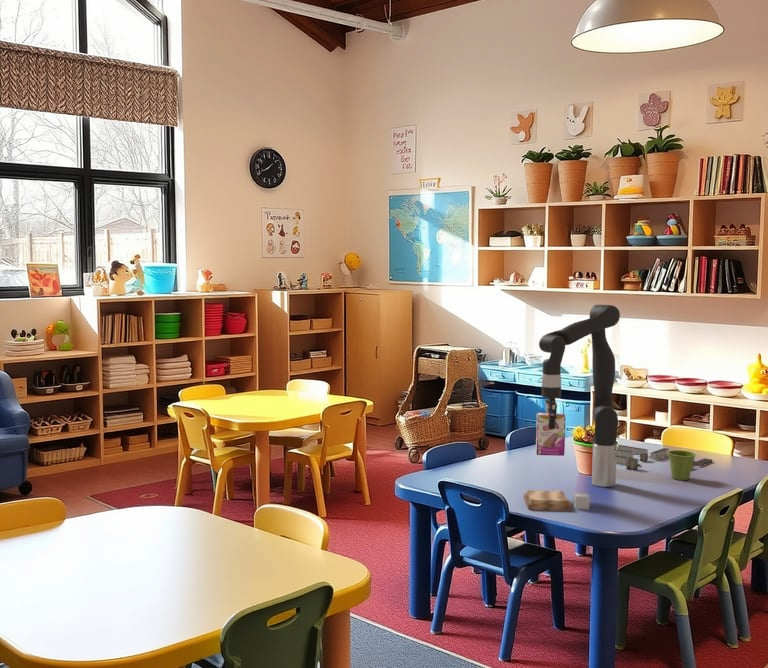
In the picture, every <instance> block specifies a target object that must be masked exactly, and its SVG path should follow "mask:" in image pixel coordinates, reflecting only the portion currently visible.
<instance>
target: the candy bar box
mask: <svg viewBox="0 0 768 668" xmlns="http://www.w3.org/2000/svg"><path fill="white" fill-rule="evenodd" d="M551 416H554V414H551ZM535 429H536V431H535V432H536V434H535V435H536V436H535V437H536V438H535V453H536V455H537V456H557V457H558V456H559V457H560V456H565V450H566V449H565V447H566V444H565V443H566V442H565V441H566V440H565V439H566V415H565V413H556V419H555V429H549V414H548V413H546V412H537V413H536V428H535Z"/></svg>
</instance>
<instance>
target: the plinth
mask: <svg viewBox="0 0 768 668" xmlns="http://www.w3.org/2000/svg"><path fill="white" fill-rule="evenodd" d="M523 500H524V503H525V505H526V507H527V509H528V510H529V511H566V512H567V511H568V512H569V511H572V509H573V508H572V507H573V504H572V503H571V502H570V500H569V499H568V497H567V496H566V494H565V492H564V491H563V490H533V489H532V490H531V489H529V490H528V489H527V490H526V493H525V492H524V493H523Z"/></svg>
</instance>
